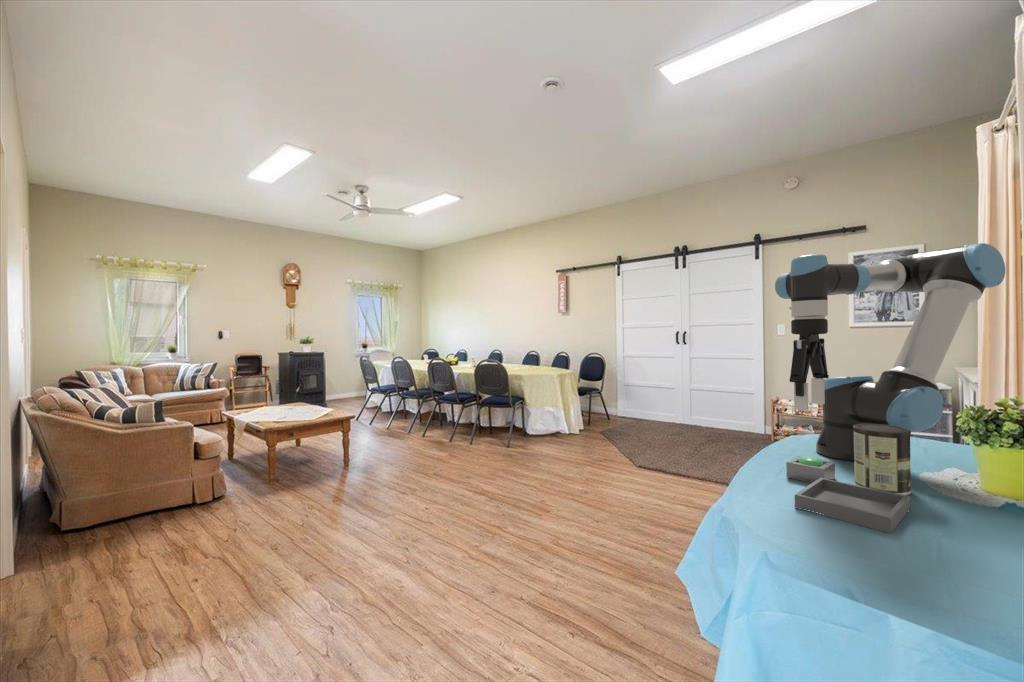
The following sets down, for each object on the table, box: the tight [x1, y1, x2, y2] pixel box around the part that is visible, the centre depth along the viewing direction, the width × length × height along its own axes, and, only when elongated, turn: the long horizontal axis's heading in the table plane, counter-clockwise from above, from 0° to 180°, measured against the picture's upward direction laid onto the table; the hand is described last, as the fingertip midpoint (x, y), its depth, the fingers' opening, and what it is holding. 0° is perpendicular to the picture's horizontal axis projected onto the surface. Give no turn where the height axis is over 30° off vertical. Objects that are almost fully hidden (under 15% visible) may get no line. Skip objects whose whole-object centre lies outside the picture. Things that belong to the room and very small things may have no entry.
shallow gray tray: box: [794, 478, 911, 534], centre depth 91 cm, size 16×16×3 cm
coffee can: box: [853, 424, 912, 496], centre depth 102 cm, size 10×10×14 cm
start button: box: [799, 455, 824, 467], centre depth 110 cm, size 5×5×4 cm
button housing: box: [785, 455, 836, 484], centre depth 110 cm, size 8×8×4 cm
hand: (809, 406), depth 109 cm, fingers open, 11 cm apart
